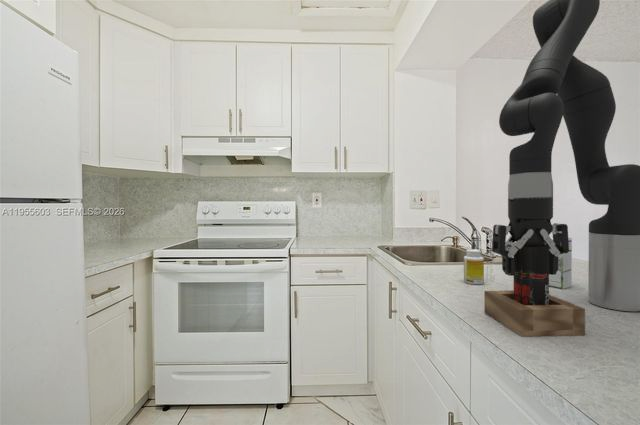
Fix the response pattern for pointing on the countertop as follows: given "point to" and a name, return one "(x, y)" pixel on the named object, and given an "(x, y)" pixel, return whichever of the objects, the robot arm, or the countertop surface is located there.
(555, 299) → the socket block
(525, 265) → the deodorant
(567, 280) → the syrup box
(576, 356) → the countertop surface
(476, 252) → the supplement bottle
